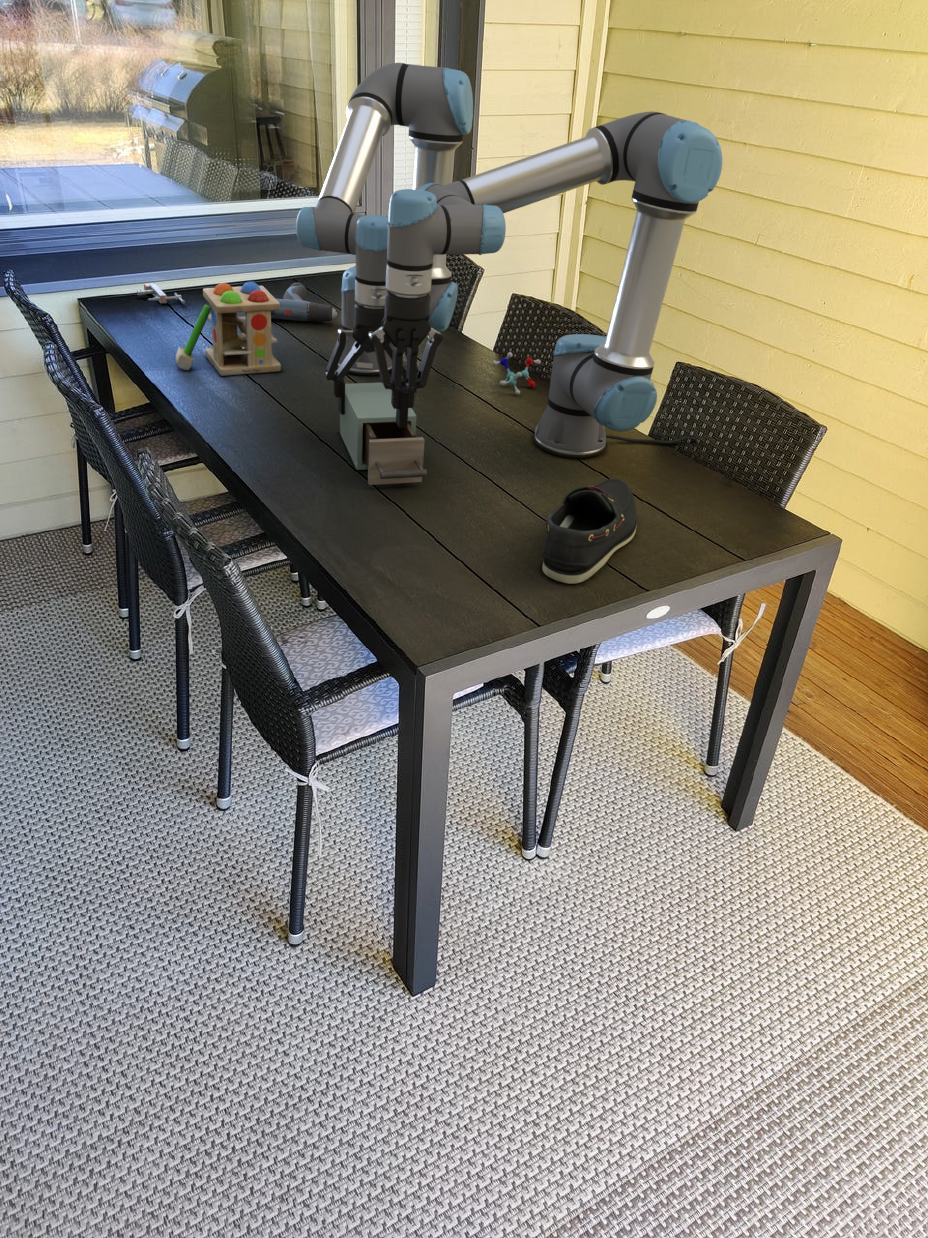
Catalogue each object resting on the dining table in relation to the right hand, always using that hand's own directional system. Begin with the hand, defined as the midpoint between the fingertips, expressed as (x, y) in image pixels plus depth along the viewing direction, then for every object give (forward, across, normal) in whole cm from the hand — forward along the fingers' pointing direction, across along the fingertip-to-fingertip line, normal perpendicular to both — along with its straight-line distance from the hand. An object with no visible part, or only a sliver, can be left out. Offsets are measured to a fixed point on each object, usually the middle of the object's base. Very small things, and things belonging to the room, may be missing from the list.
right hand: (401, 424), depth 176 cm
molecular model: (+14, +40, +50) cm, 65 cm away
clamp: (+14, -38, +120) cm, 126 cm away
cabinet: (+14, 0, +20) cm, 24 cm away
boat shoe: (+14, +30, -22) cm, 40 cm away
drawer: (+13, 0, +8) cm, 15 cm away
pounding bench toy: (+14, -25, +69) cm, 75 cm away
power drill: (+14, 0, +107) cm, 108 cm away
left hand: (+8, 0, +25) cm, 26 cm away
